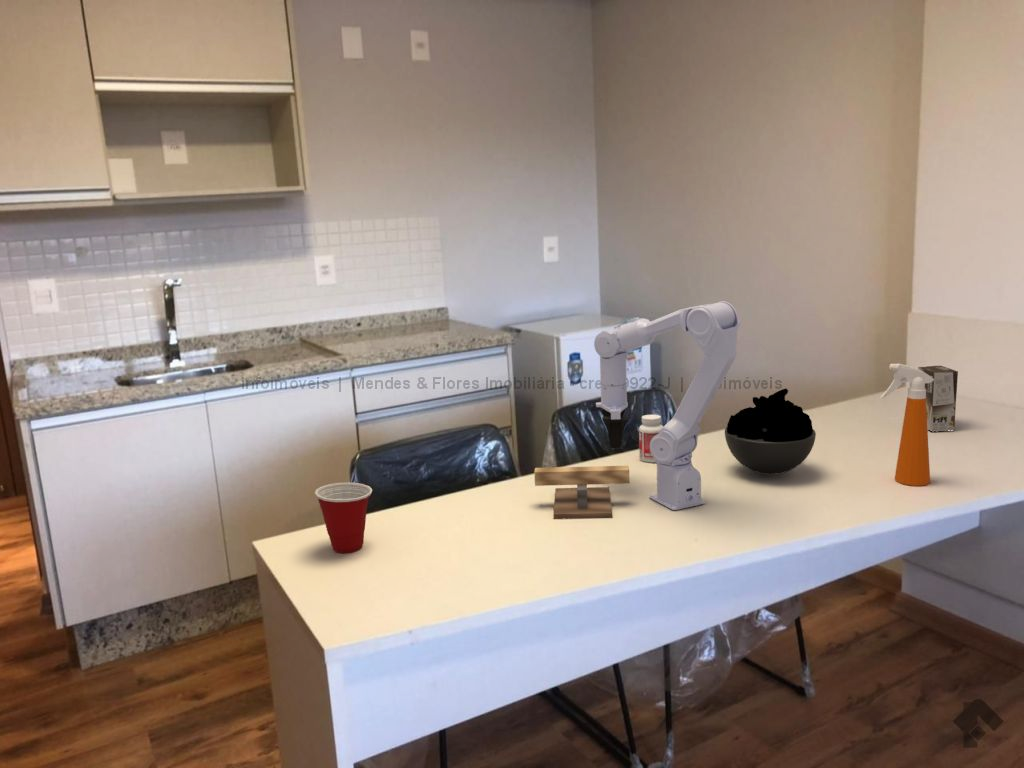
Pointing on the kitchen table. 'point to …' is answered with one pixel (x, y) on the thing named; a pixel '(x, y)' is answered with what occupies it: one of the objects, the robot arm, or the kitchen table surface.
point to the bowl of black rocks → (770, 435)
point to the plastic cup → (344, 514)
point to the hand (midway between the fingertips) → (614, 442)
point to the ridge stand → (582, 502)
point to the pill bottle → (648, 435)
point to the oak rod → (582, 475)
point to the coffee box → (940, 397)
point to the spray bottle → (912, 427)
